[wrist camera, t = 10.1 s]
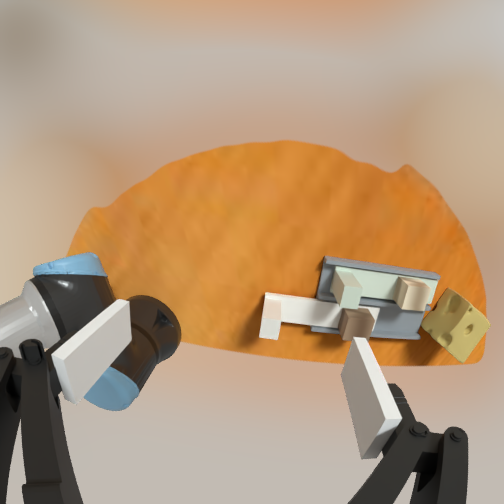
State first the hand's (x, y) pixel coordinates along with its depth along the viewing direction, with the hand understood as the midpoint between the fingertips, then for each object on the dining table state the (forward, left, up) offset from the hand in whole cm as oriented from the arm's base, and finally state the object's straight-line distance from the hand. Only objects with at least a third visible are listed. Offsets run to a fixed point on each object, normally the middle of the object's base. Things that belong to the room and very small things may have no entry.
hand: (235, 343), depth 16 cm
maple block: (+28, -7, -35) cm, 45 cm away
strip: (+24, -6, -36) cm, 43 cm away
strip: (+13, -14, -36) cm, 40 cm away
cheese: (+42, -12, -37) cm, 57 cm away
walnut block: (+18, -14, -35) cm, 41 cm away
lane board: (+23, -10, -37) cm, 44 cm away
